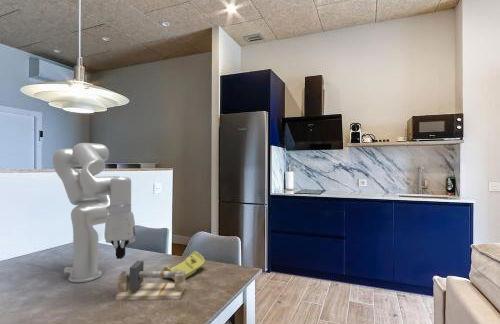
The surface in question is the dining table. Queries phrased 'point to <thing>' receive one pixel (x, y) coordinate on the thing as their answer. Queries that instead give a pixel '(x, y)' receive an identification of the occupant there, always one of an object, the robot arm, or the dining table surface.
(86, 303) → the dining table surface
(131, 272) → the collar
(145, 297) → the pipe stand
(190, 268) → the plastic component
